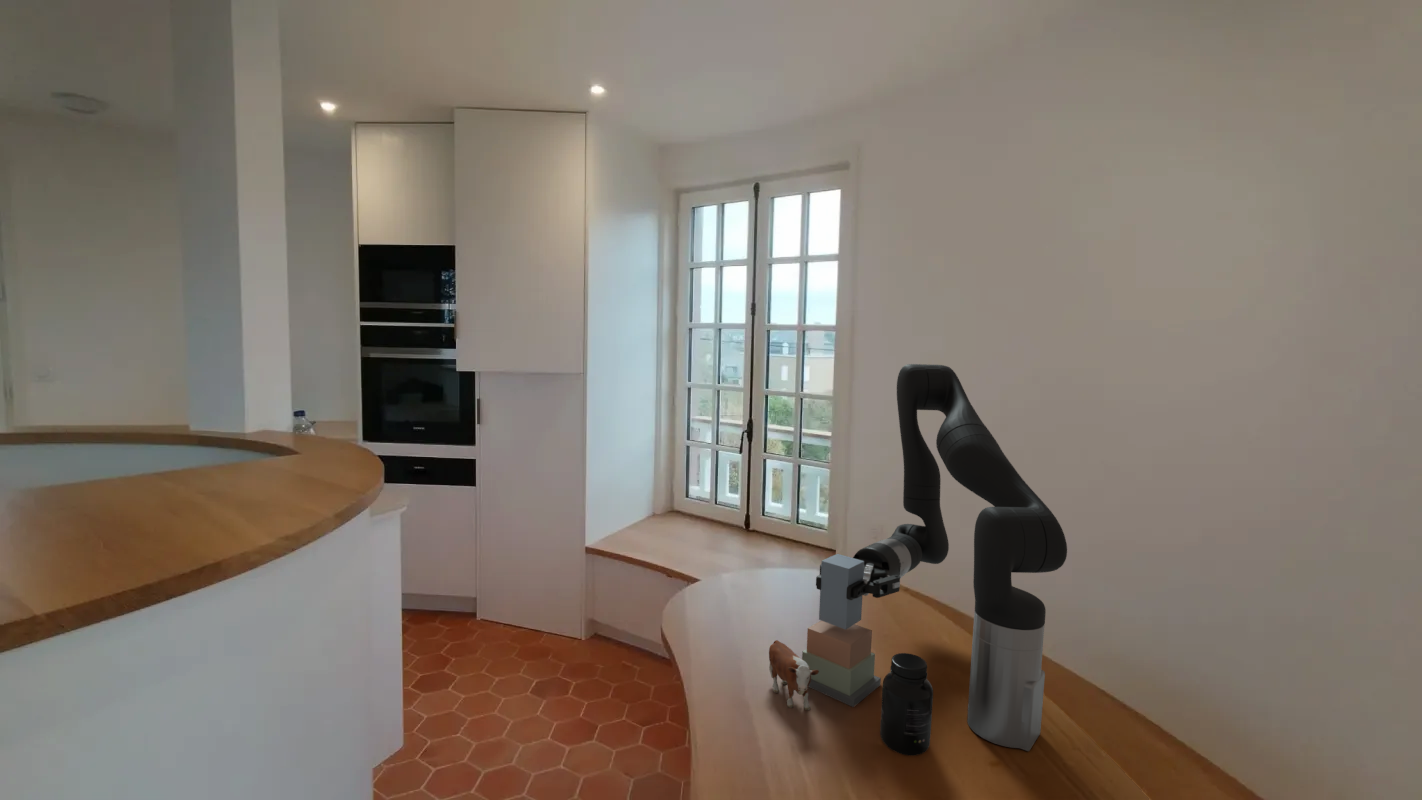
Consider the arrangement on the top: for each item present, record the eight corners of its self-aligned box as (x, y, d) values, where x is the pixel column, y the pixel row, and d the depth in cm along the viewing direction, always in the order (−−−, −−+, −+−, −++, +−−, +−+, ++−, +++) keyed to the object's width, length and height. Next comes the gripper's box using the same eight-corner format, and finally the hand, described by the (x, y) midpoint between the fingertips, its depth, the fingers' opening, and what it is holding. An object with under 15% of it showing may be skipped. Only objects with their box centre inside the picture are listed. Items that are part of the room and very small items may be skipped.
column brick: (861, 619, 102) (864, 561, 101) (845, 629, 99) (848, 568, 98) (834, 610, 106) (837, 553, 105) (818, 619, 102) (821, 560, 101)
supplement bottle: (870, 731, 90) (874, 651, 89) (910, 724, 92) (915, 646, 91) (897, 761, 83) (902, 676, 82) (940, 753, 85) (945, 669, 84)
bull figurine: (795, 727, 90) (797, 673, 90) (763, 679, 103) (765, 632, 103) (822, 723, 91) (825, 670, 91) (787, 676, 104) (789, 629, 104)
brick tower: (880, 685, 102) (883, 631, 102) (853, 707, 96) (856, 650, 95) (823, 661, 110) (825, 611, 109) (794, 680, 103) (796, 627, 102)
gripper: (848, 534, 117) (797, 555, 104) (921, 552, 107) (875, 578, 94) (846, 572, 117) (795, 598, 105) (919, 594, 108) (872, 625, 95)
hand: (833, 588), depth 100 cm, fingers closed on column brick, 5 cm apart
